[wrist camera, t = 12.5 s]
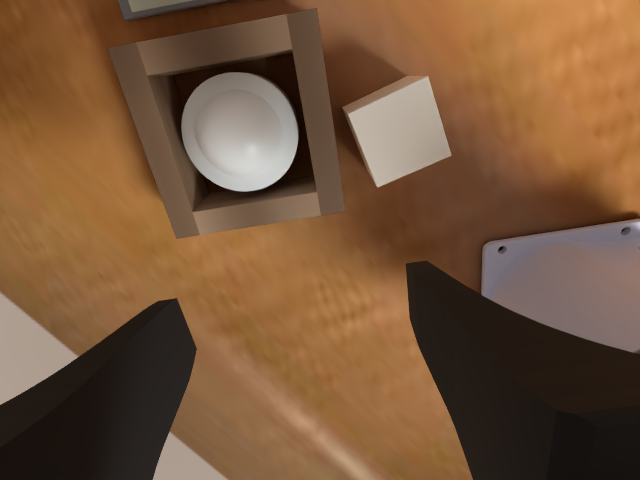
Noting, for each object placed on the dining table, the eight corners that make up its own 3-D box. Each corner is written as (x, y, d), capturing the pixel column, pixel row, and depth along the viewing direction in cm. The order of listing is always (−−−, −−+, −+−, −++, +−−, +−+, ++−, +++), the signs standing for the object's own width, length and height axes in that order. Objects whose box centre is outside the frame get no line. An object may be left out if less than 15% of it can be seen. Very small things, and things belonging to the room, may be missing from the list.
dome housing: (316, 19, 17) (316, 8, 14) (341, 193, 20) (345, 211, 17) (139, 52, 17) (106, 47, 14) (194, 216, 20) (176, 238, 18)
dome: (288, 63, 17) (282, 60, 14) (307, 169, 19) (306, 191, 16) (183, 82, 18) (150, 84, 14) (214, 185, 20) (192, 209, 16)
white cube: (407, 75, 18) (428, 76, 15) (428, 141, 19) (451, 155, 16) (341, 107, 18) (347, 114, 15) (366, 169, 20) (377, 187, 16)
